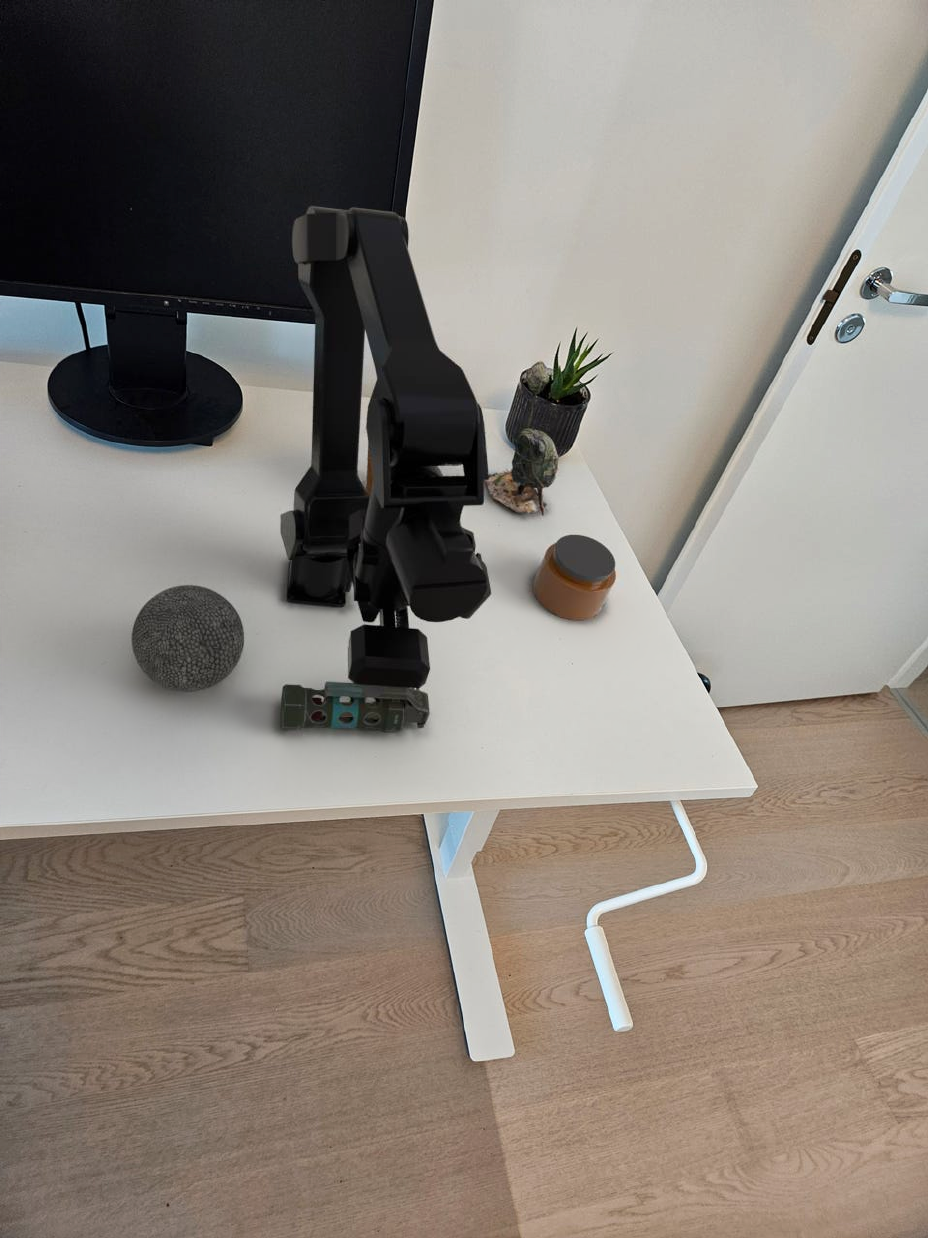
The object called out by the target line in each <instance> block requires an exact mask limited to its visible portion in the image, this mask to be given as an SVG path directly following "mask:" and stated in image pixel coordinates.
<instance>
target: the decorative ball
mask: <svg viewBox="0 0 928 1238" xmlns="http://www.w3.org/2000/svg"><path fill="white" fill-rule="evenodd" d="M243 625H244V624H243V622H242V620H241V617H240V615H239V613H238V611H237V610H236V608H235V607H234V605H233V604H232V603H231V602H230V601H229V600H228V599H227V598H225V596H223V595H221V594H220V593H218V592H217V591H215V590H212V589H211V588H207V587H205V586H200V585H195V584H183V585H175V586H172V587H169V588H166V589H163V590H162V591H160V592H158V593H157V594H155V595H154V596H152V597H151V598H150V599H149V600H148V601H146V603H145V604H144V605H142V607H141V609H140V610H139V611H138V613H137V616H136V618H135V620H134V623H133V627H132V632H131V647H132V652H133V655H134V658H135V661H136V663H137V664H138V666H139V668H140V669H141V670H142V672H143V673H144V675H146V676H147V677H148V678H149V679H151V680H152V681H153V682H154V683H156V684H158V685H160V686H161V687H163V688H166V689H168V690H172V691H175V692H182V693H194V692H195V693H196V692H200V691H204V690H207V689H209V688H212V687H214V686H216V685H218V684H219V683H221V682H222V681H224V680H225V679H226V678H227V677H228V676H229V675H230V674H231V673H232V672H233V671H234V670H235V668H236V667H237V666H238V663H239V661H240V659H241V657H242V655H243V650H244V645H245V630H244V626H243Z"/></svg>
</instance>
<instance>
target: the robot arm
mask: <svg viewBox="0 0 928 1238" xmlns="http://www.w3.org/2000/svg"><path fill="white" fill-rule="evenodd" d="M291 235H292V236H291V237H292V239H291V245H292V246H291V247H292V255H293V259H294V262H295V263H296V264H297V268H298V269H297V275H298V282H299V284H300V286H301V288H302V290H303V292H304V294H305V295H306V298H307V299H308V302H309V303H310V305H311V307H312V309H313V311H314V348H313V349H314V354H313V356H314V357H313V386H312V387H313V389H312V390H313V391H312V425H311V426H312V427H311V431H312V432H311V461H310V467H309V468H308V469H307V471H306V472H305V474H304V475H303V477H302V478H301V480H300V481H299V482H298V484H297V485H296V487H295V489H294V495H293V509H291V510H288V511H285V512H283V513H280V524H279V525H280V526H279V528H280V529H279V530H280V536H281V539H282V543H283V547H284V549H285V550H284V551H285V554H286V556H287V561H288V566H287V567H288V569H287V582H286V595H285V599H286V600H285V601H287V602H288V603H294V604H304V605H314V606H322V607H323V606H324V607H325V606H326V607H335V608H344V607H346V603H347V593H350V592H351V589H352V587H353V602H357V605H358V609H359V612H360V616H361V619H362V621H363V622H364V624H362V625H360V626H358V627H356V628H354V629H352V630H350V634H349V638H348V647H347V679H348V680H350V681H351V683H354V684H358V685H359V686H360V688H361V690H362V692H363V694H364V696H365V697H367V698H366V699H368V698H369V699H374V698H378V697H379V696H380V695H381V694H382V692H383V691H384V690H385V689H386V688H387V687H388V686H389V687H404V688H414V689H416V688H419V689H421V688H422V687H424V685H426V683H427V680H428V677H429V673H430V671H431V664H430V663H431V662H430V654H429V645H428V644H429V643H428V637H427V635H425V634H424V633H423V631H421V630H420V629H419V628H413V627H410V623H409V609H410V611H411V613H412V614H413V615H414V616H415V617H416V618H418V619H420V620H422V621H425V622H428V623H442V622H443V623H444V622H449V621H452V620H455V619H457V618H461V619H464V620H468V619H470V618H472V616H473V615H474V614H475V613H476V612H477V611H479V609H480V608H481V606H482V605H483V604H484V603H485V602H486V601H487V600H488V599H489V598H490V597H491V595H492V587H491V582H490V577H489V572H488V567H487V565H486V563H485V562H484V561H483V557H482V554H481V553H479V552H476V547H477V546H476V539H475V534H474V532H473V531H471V530H469V529H467V528H464V527H463V526H462V523H461V518H462V512H463V510H464V507H471V506H483V505H484V503H485V481H486V480H488V479H489V474H490V473H489V461H488V450H487V449H488V448H487V440H486V439H487V438H486V427H485V426H486V425H485V420H484V414H483V410H482V409H483V408H482V407H481V405H480V404H479V402H478V401H477V398H476V396H475V395H476V394H475V393H474V391H473V389H472V386H471V384H470V383H469V380H468V378H467V376H466V373H465V371H464V369H463V368H462V367H461V366H460V365H459V364H457V363H456V362H455V361H454V360H452V359H451V358H450V357H449V356H447V355H446V354H445V353H444V352H443V351H442V350H440V346H439V345H438V342H437V341H436V338H435V334H434V331H433V327H432V325H431V321H430V317H429V314H428V311H427V308H426V307H427V306H426V305H425V300H424V298H423V295H422V291H421V288H420V284H419V281H418V278H417V274H416V271H415V268H414V264H413V261H412V258H411V255H410V251H409V242H410V241H409V240H410V237H409V236H410V235H409V226H408V222H407V219H406V217H403V216H399V215H398V213H396V212H395V211H388V210H378V209H371V208H361V207H354V206H352V207H350V208H349V209H340V208H334V207H333V208H332V207H323V206H316V205H315V206H314V205H310V206H308V208H307V210H306V212H305V214H304V215H302V216H299V217H296V219H295V220H294V222H293V226H292V234H291ZM365 337H366V338H367V342H368V347H369V350H370V354H371V358H372V361H373V366H374V369H375V375H376V381H375V384H374V387H373V390H372V393H371V395H370V399H369V401H368V405H367V410H366V411H367V412H366V422H367V431H366V436H367V445H368V444H369V452H370V459H371V467H372V474H373V482H372V487H371V492H370V497H369V495H368V494H367V492H366V488H365V486H364V485H363V482H362V481H361V479H360V477H359V476H358V475H359V474H358V473H359V472H358V471H359V453H360V452H359V450H360V432H361V431H360V429H361V414H362V413H361V412H362V395H363V376H364V359H365V358H364V356H365ZM459 466H462V471H463V475H443V473H442V471H441V469H440V468H439V467H459ZM408 607H409V609H408ZM378 615H379V625H377V624H366V623H374V622H376V620H377V618H378Z"/></svg>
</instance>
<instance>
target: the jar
mask: <svg viewBox="0 0 928 1238" xmlns="http://www.w3.org/2000/svg"><path fill="white" fill-rule="evenodd" d="M616 578H617V573H616V559H615V556H614V555H613V553H612V552H611V550H610V549H608V547H607V546H606V545H604V544H603V543H602V542H600V541H598V540H597V539H595V538H592V537H590V536H587V535H582V534H567V535H564V536H561V537H560V538H558V540H556V541H555V542H554V543H553V544H551V545H550V546H549V547H548V548H547V549H546V551H545V553H544V555H543V558H542V560H541V563H540V566H539V568H538V570H537V572H536V575H535V577H534V579H533V583H532V590H533V594H534V596H535V597H536V600H537V601H538V602H539V603H540V605H541V606H542V607H544V608H545V609H546V610H547V611H548V612H550V613H551V614H554V615H555V616H558V617H560V618H562V619H566V620H572V621H586V620H589V619H592V618H595V616H597V615H598V614H599V613H600V611H601V609H602V607H603V606H604V603H605V601H606V599H607V598H608V596H609V594H610V592H611V590H612V588H613V586H614V584H615V581H616Z"/></svg>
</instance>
